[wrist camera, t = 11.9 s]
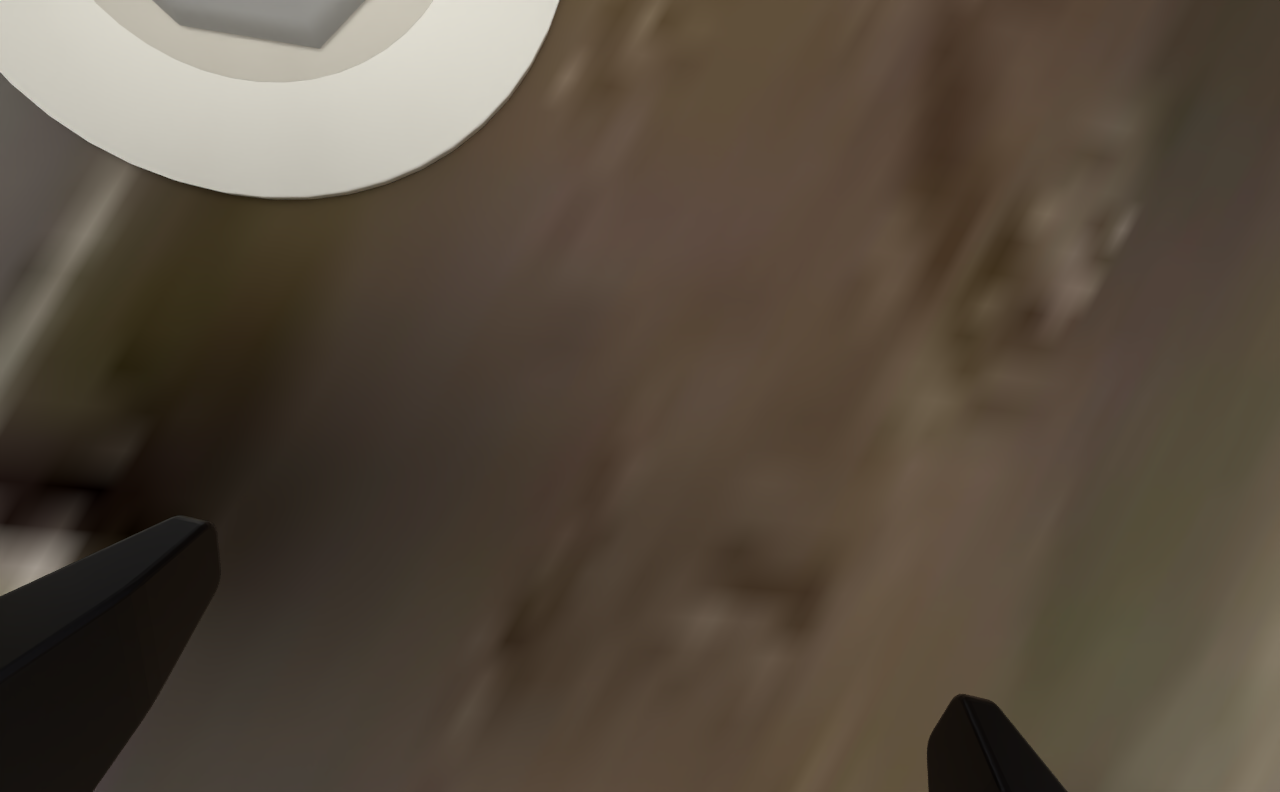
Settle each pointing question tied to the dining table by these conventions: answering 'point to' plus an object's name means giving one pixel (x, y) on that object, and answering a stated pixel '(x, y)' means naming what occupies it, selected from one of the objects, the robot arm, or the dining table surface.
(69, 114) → the ceramic plate
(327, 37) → the flask
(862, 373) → the dining table surface
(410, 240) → the dining table surface
